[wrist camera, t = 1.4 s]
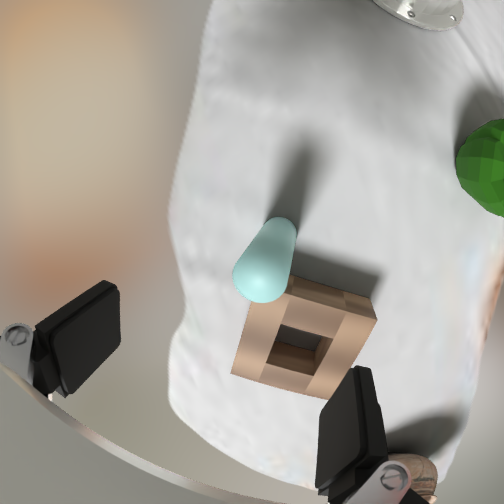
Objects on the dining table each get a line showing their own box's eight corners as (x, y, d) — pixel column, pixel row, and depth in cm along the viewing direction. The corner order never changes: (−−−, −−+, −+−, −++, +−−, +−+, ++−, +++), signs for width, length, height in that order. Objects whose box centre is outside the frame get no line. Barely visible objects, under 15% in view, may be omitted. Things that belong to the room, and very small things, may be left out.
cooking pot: (454, 445, 30) (465, 492, 19) (384, 485, 37) (385, 527, 26) (379, 420, 30) (386, 490, 19) (299, 466, 37) (290, 520, 26)
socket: (264, 266, 26) (256, 284, 23) (369, 298, 25) (377, 319, 21) (239, 350, 30) (230, 373, 26) (328, 375, 29) (328, 400, 25)
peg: (266, 212, 25) (239, 244, 15) (301, 222, 24) (294, 261, 15) (258, 245, 26) (227, 293, 16) (291, 255, 25) (278, 309, 16)
